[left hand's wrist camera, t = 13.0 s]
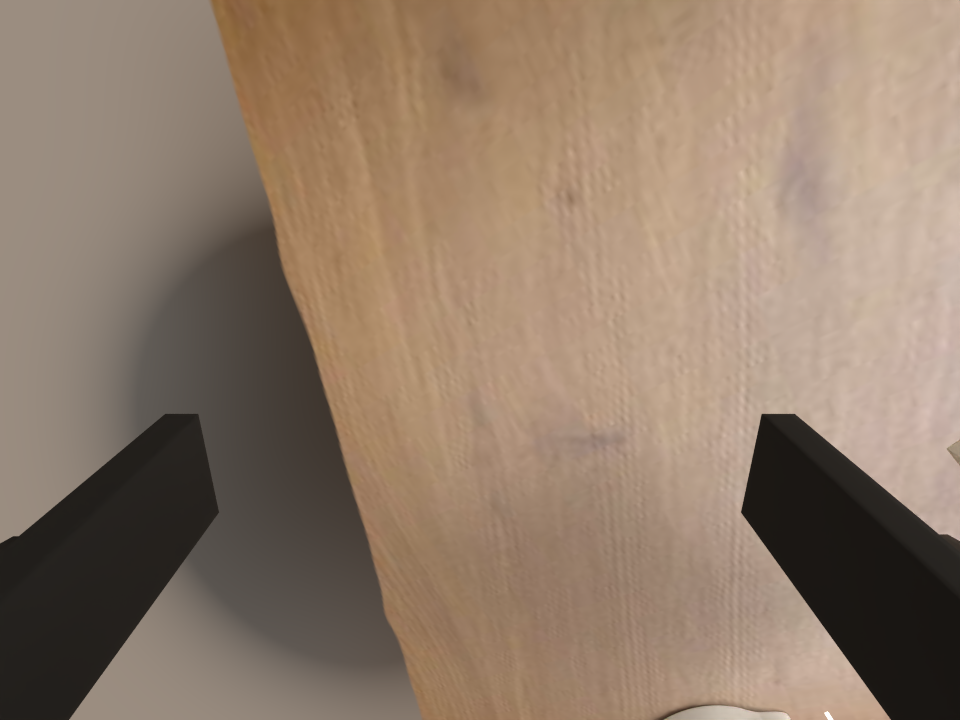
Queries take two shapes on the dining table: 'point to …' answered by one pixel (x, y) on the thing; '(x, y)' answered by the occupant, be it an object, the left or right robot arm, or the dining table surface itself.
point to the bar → (955, 451)
